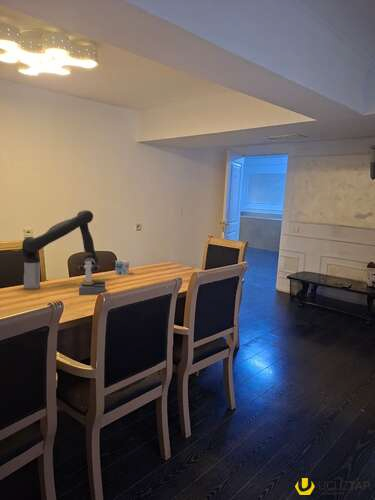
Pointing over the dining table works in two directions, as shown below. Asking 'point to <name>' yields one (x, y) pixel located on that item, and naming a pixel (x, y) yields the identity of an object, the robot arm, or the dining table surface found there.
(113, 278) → the dining table surface
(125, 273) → the light bulb box
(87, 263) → the steel post
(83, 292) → the keyhole board
